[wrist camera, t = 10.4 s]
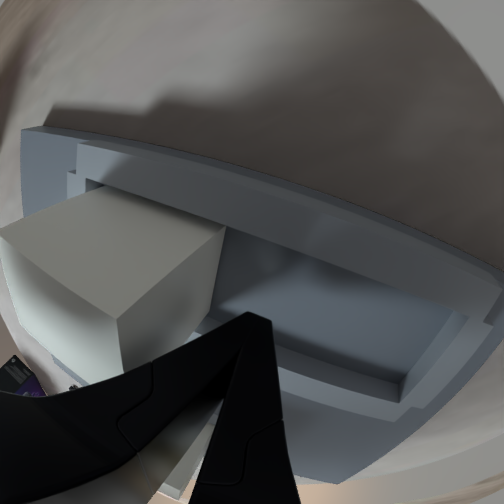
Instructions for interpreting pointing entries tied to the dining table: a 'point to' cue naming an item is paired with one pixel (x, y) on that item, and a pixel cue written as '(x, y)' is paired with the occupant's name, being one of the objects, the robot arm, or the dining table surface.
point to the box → (19, 379)
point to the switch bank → (307, 291)
